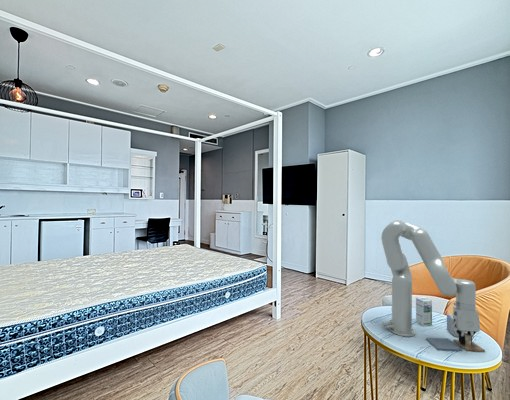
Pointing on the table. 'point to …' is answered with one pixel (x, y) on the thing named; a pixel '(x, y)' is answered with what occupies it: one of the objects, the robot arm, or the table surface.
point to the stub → (469, 344)
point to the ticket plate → (443, 344)
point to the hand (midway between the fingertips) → (465, 343)
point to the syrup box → (424, 311)
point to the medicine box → (449, 325)
